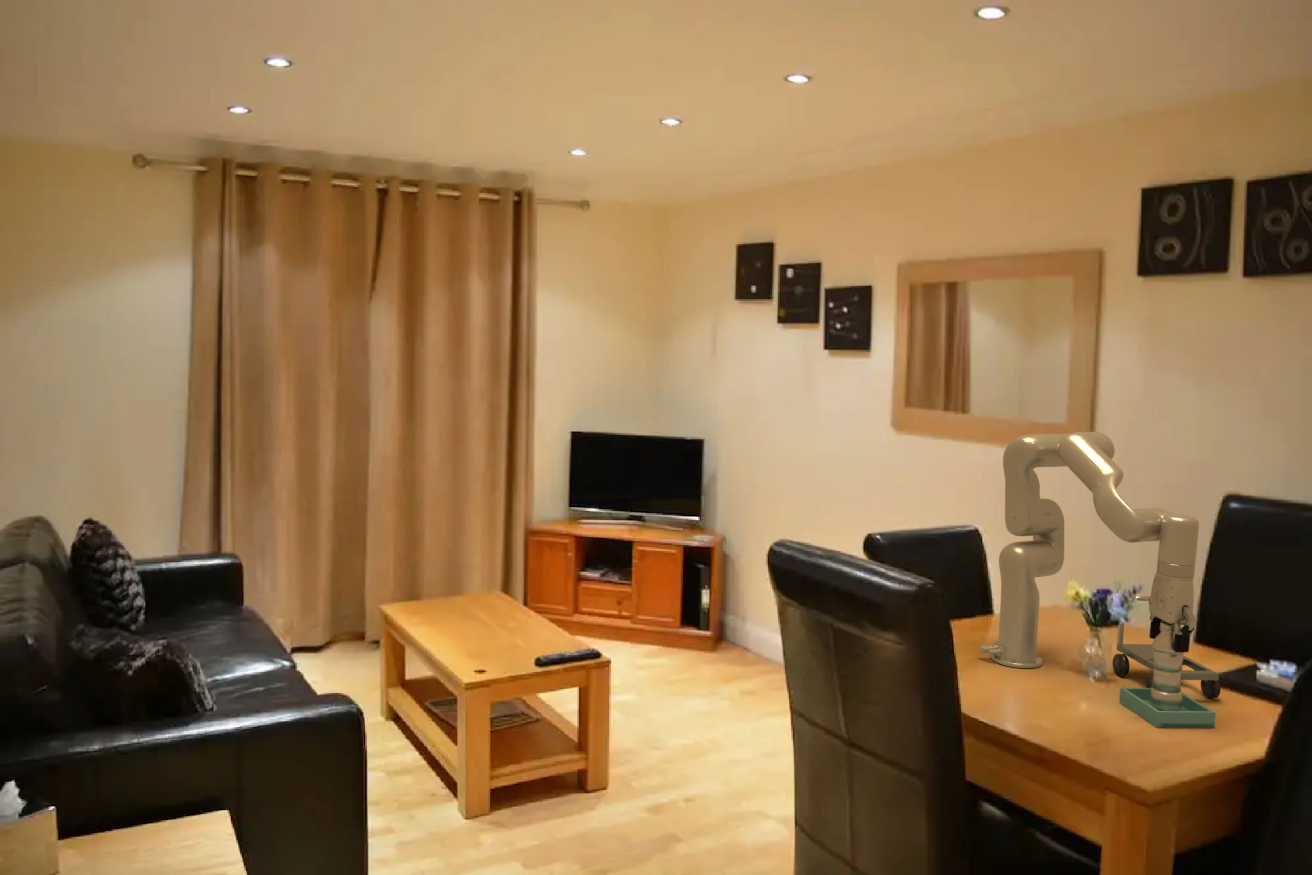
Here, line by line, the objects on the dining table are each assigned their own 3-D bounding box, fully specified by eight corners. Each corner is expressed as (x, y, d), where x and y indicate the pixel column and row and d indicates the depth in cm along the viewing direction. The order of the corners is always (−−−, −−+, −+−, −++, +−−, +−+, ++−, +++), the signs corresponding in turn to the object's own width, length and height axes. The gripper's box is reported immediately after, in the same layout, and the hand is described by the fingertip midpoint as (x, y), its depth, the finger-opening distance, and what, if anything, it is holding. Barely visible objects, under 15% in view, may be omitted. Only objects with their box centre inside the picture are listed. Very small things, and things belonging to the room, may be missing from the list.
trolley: (1160, 702, 239) (1166, 620, 238) (1109, 670, 263) (1114, 595, 262) (1223, 703, 240) (1229, 620, 239) (1165, 670, 264) (1171, 596, 263)
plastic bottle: (1181, 717, 227) (1185, 628, 225) (1147, 711, 230) (1151, 623, 229) (1183, 709, 232) (1187, 621, 231) (1150, 703, 236) (1154, 617, 234)
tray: (1156, 727, 223) (1158, 712, 223) (1119, 702, 239) (1120, 687, 239) (1214, 728, 224) (1215, 712, 223) (1173, 702, 240) (1174, 688, 239)
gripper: (1138, 560, 237) (1132, 633, 239) (1181, 579, 220) (1173, 657, 222) (1170, 561, 237) (1163, 633, 239) (1215, 580, 220) (1207, 657, 222)
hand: (1168, 644), depth 230 cm, fingers open, 9 cm apart
